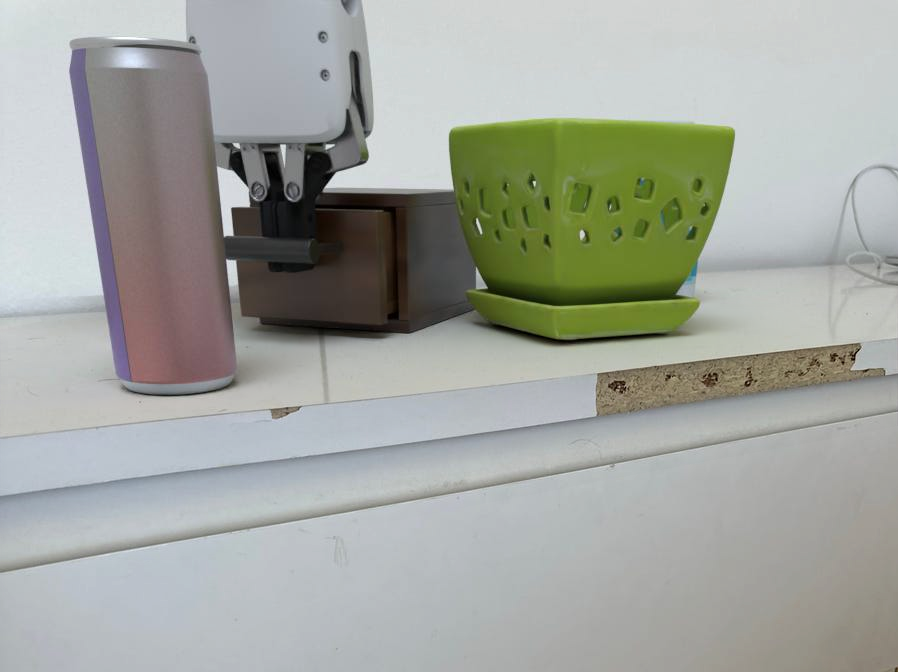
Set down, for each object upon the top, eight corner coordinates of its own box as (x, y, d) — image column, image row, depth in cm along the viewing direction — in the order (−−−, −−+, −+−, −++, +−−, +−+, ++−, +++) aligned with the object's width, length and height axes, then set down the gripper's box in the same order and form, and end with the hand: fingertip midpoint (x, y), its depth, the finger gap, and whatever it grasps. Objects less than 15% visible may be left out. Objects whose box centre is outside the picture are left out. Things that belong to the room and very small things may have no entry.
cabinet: (409, 333, 66) (406, 193, 62) (259, 323, 69) (248, 190, 65) (476, 308, 77) (476, 189, 73) (345, 301, 81) (339, 187, 77)
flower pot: (721, 337, 65) (745, 123, 60) (546, 353, 59) (555, 116, 54) (599, 311, 76) (610, 129, 71) (442, 322, 70) (440, 123, 64)
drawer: (346, 336, 59) (340, 214, 56) (199, 326, 62) (185, 209, 59) (449, 302, 73) (448, 204, 70) (326, 296, 76) (320, 201, 73)
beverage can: (92, 387, 49) (35, 40, 42) (182, 369, 54) (143, 53, 47) (175, 402, 46) (127, 32, 40) (262, 381, 51) (232, 47, 44)
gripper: (417, -81, 54) (424, 269, 62) (188, -64, 58) (222, 261, 66) (360, -114, 48) (376, 281, 56) (107, -92, 52) (155, 271, 60)
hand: (292, 269), depth 61 cm, fingers closed
